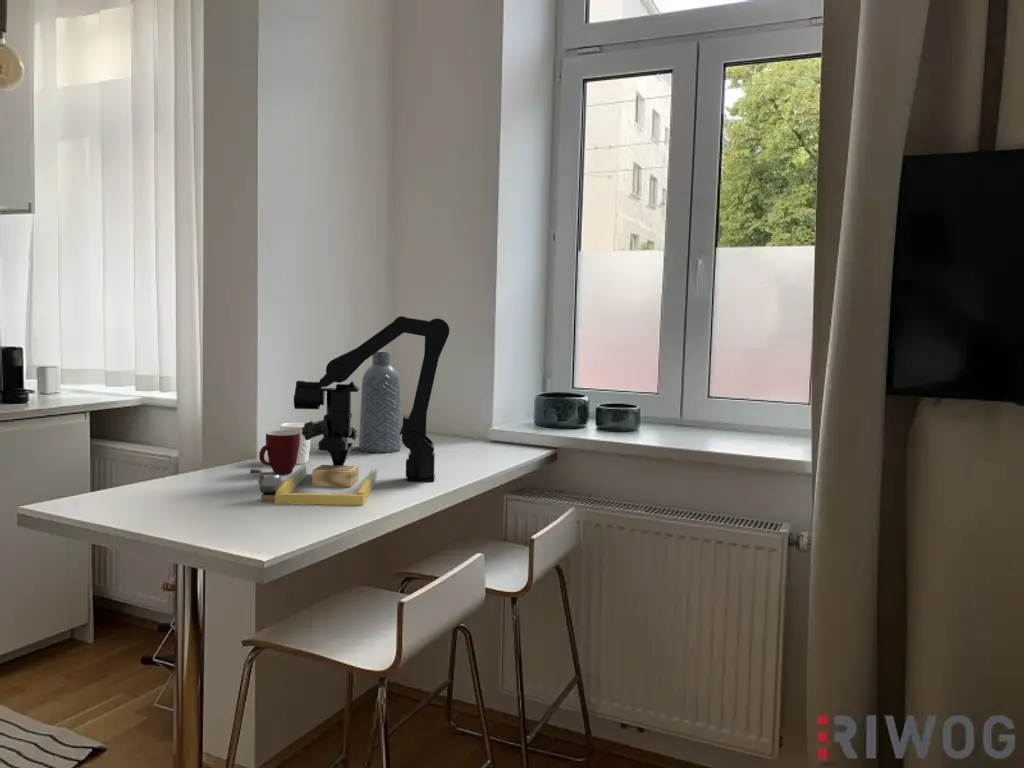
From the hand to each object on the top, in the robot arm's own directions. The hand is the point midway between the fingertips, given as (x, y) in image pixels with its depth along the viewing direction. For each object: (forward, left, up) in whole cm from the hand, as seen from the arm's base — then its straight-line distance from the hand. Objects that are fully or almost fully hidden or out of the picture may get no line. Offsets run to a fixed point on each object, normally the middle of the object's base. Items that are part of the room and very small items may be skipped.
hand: (337, 473), depth 200 cm
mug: (+15, -4, -1) cm, 16 cm away
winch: (+12, +23, -1) cm, 26 cm away
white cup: (+14, -19, -1) cm, 24 cm away
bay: (0, +12, -1) cm, 12 cm away
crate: (0, +5, -2) cm, 6 cm away
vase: (-6, -40, -1) cm, 41 cm away
